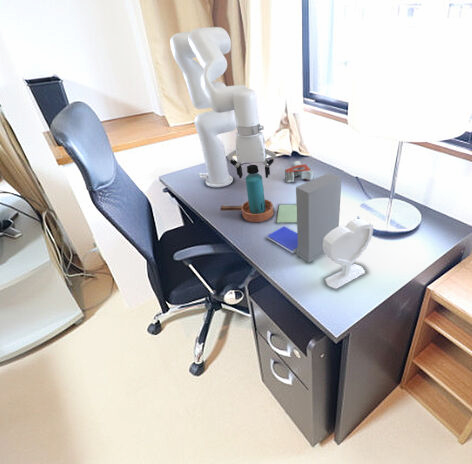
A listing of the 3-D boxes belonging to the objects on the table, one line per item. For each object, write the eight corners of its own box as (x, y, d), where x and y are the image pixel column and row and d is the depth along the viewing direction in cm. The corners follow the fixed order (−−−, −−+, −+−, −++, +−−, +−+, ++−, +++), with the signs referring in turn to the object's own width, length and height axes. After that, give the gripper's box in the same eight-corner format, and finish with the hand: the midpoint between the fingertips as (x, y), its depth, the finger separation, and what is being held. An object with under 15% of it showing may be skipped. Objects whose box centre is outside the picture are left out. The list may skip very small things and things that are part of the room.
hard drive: (309, 239, 109) (284, 225, 116) (292, 250, 104) (267, 235, 111) (309, 242, 110) (284, 229, 117) (292, 253, 105) (267, 239, 112)
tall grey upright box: (325, 237, 112) (327, 171, 98) (338, 245, 109) (342, 178, 94) (296, 254, 105) (293, 186, 90) (308, 263, 101) (308, 193, 87)
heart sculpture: (330, 291, 91) (333, 241, 80) (320, 281, 94) (320, 232, 84) (369, 270, 98) (376, 221, 88) (358, 261, 101) (363, 213, 91)
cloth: (276, 222, 121) (276, 222, 120) (279, 205, 131) (279, 204, 131) (303, 222, 120) (303, 222, 120) (303, 205, 131) (303, 204, 131)
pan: (240, 222, 121) (238, 214, 119) (245, 206, 131) (244, 198, 129) (271, 222, 121) (271, 214, 119) (274, 206, 131) (274, 198, 129)
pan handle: (220, 210, 124) (220, 207, 124) (221, 208, 126) (221, 205, 125) (242, 210, 124) (241, 207, 124) (242, 208, 126) (242, 205, 125)
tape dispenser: (297, 167, 166) (273, 179, 152) (297, 157, 163) (272, 168, 149) (326, 173, 157) (303, 186, 143) (326, 163, 154) (303, 175, 140)
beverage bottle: (263, 218, 123) (258, 170, 111) (247, 217, 124) (240, 169, 112) (268, 210, 128) (264, 163, 116) (252, 208, 129) (246, 162, 118)
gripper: (275, 125, 110) (278, 171, 119) (225, 126, 110) (232, 172, 120) (273, 132, 103) (276, 180, 113) (220, 133, 104) (228, 181, 114)
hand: (254, 176), depth 116 cm, fingers open, 9 cm apart
